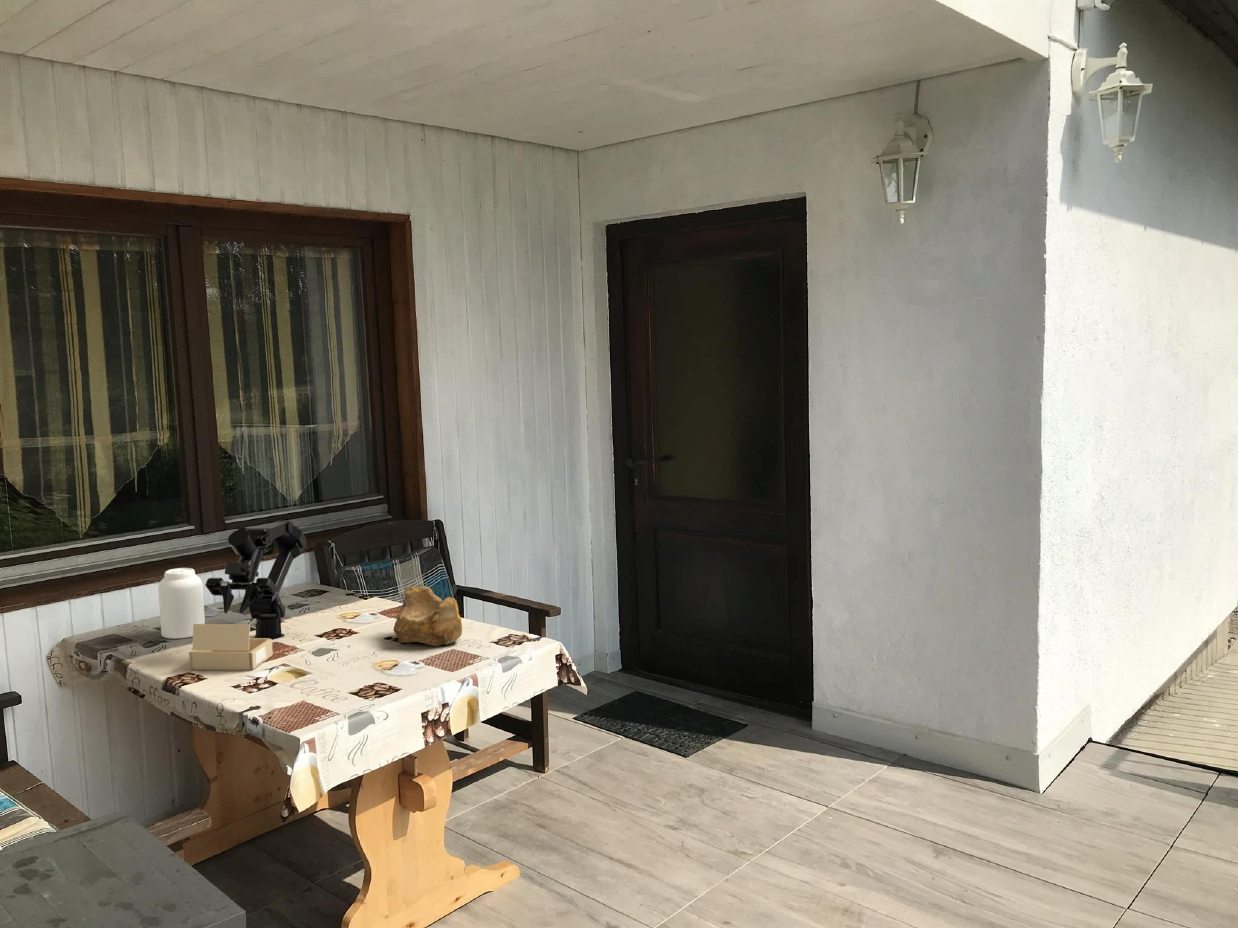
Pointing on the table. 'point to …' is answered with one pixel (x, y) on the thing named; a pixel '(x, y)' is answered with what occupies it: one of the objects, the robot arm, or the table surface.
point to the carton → (232, 657)
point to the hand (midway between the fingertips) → (232, 612)
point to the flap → (221, 637)
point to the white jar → (180, 603)
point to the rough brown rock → (427, 618)
